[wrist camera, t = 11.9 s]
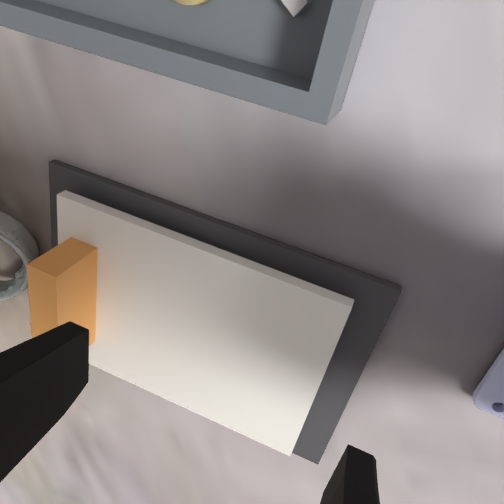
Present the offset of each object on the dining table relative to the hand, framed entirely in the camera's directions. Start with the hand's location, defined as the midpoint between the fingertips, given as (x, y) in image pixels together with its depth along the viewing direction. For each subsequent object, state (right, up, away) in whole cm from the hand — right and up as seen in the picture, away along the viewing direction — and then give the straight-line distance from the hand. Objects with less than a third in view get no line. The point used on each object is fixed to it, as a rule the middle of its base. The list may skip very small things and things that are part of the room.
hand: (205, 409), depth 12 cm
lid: (-2, 0, +11) cm, 11 cm away
